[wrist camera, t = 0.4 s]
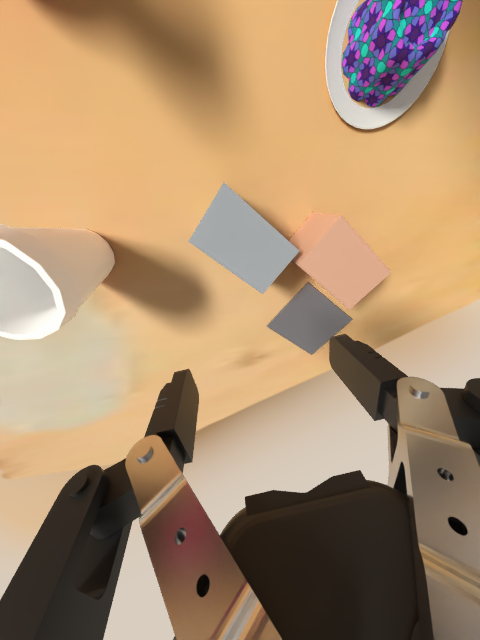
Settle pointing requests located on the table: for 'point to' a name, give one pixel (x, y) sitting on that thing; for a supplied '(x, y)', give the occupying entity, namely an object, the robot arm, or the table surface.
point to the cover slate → (242, 240)
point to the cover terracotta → (337, 258)
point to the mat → (309, 319)
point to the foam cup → (47, 277)
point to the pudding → (385, 55)
